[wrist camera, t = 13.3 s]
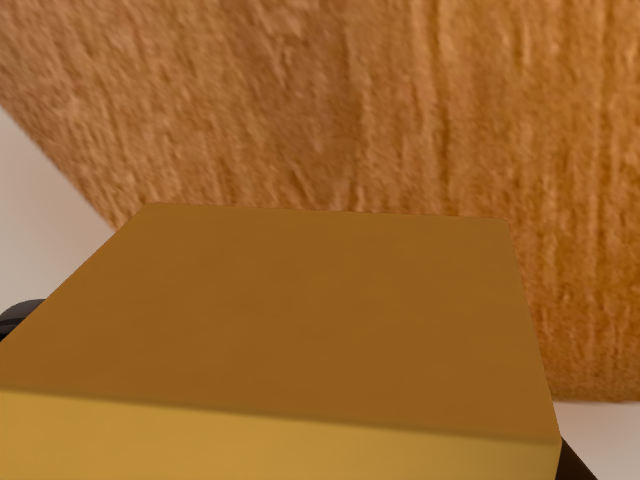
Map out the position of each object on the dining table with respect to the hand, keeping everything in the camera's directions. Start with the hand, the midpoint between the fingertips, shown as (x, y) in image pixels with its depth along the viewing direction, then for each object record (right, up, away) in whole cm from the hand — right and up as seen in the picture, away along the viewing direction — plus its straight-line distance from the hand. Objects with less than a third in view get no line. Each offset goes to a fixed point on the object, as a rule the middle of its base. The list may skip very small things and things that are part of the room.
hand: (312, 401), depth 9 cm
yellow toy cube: (0, +1, +1) cm, 1 cm away
